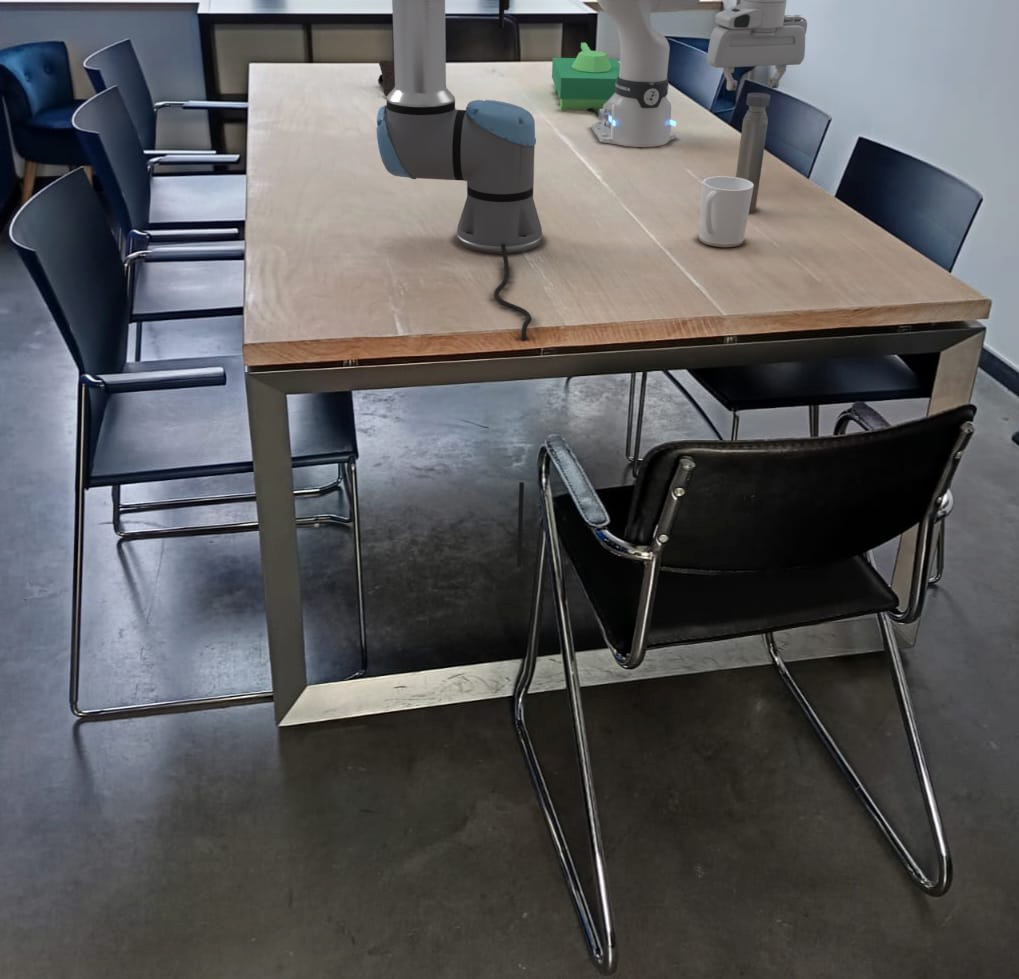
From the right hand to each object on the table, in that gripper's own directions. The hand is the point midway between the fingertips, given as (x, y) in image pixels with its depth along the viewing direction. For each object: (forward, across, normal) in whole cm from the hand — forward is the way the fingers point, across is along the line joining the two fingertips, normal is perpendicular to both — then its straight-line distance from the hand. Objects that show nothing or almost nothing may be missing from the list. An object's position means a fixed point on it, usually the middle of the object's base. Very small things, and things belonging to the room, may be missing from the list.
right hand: (752, 88), depth 223 cm
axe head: (+18, +52, -99) cm, 114 cm away
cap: (-3, +9, +20) cm, 22 cm away
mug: (+18, +23, +37) cm, 47 cm away
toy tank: (+18, +6, -80) cm, 83 cm away
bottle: (+18, +9, +20) cm, 29 cm away
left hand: (-10, +54, -24) cm, 60 cm away
